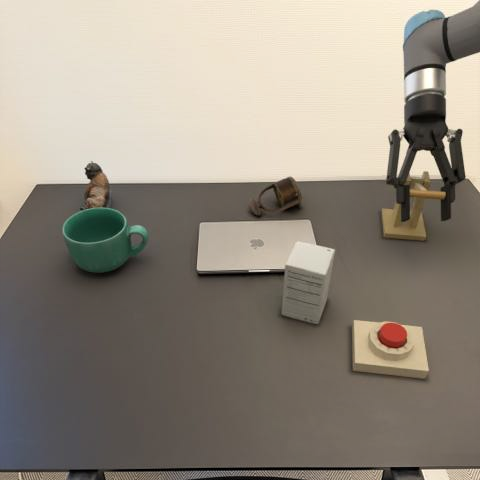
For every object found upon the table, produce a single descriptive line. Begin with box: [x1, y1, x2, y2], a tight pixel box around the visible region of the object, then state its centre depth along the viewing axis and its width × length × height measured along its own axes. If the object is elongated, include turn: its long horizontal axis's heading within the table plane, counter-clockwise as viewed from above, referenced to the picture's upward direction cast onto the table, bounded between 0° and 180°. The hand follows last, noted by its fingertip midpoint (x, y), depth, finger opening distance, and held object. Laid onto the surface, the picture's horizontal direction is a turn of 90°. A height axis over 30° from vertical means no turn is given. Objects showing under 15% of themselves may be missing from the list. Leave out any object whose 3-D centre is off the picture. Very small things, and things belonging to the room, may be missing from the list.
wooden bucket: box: [248, 175, 303, 216], centre depth 111 cm, size 7×13×10 cm
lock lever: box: [410, 175, 446, 200], centre depth 96 cm, size 13×7×2 cm, turn 172°
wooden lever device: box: [380, 171, 432, 242], centre depth 104 cm, size 10×9×13 cm
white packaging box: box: [281, 240, 336, 325], centre depth 86 cm, size 7×7×13 cm
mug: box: [61, 207, 149, 274], centre depth 97 cm, size 17×13×10 cm
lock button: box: [378, 322, 407, 348], centre depth 79 cm, size 4×4×2 cm
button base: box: [351, 319, 430, 380], centre depth 81 cm, size 12×10×4 cm
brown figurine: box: [78, 160, 113, 212], centre depth 110 cm, size 12×7×10 cm, turn 5°
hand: (425, 219), depth 91 cm, fingers closed on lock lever, 7 cm apart
